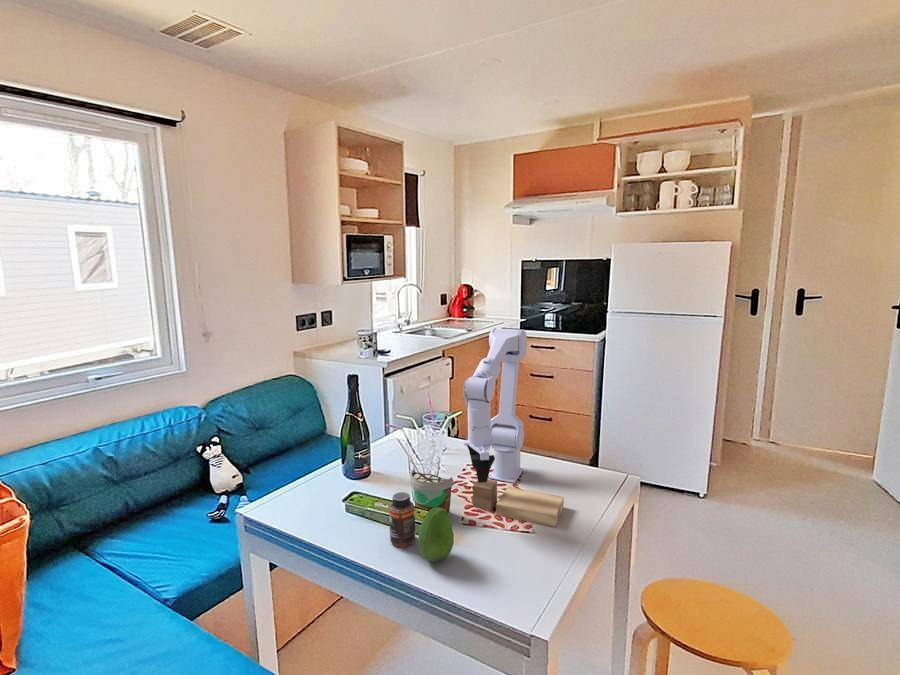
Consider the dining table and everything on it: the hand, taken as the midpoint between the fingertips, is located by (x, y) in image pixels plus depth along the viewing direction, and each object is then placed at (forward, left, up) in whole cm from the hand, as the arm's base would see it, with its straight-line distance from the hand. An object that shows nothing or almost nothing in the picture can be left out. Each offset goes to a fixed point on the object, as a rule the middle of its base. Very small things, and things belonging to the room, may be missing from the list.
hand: (479, 474), depth 126 cm
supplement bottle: (+19, -12, -10) cm, 25 cm away
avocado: (+22, -2, -10) cm, 25 cm away
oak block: (-5, +12, -10) cm, 16 cm away
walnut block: (-4, 0, -10) cm, 11 cm away
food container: (+6, -12, -10) cm, 17 cm away
